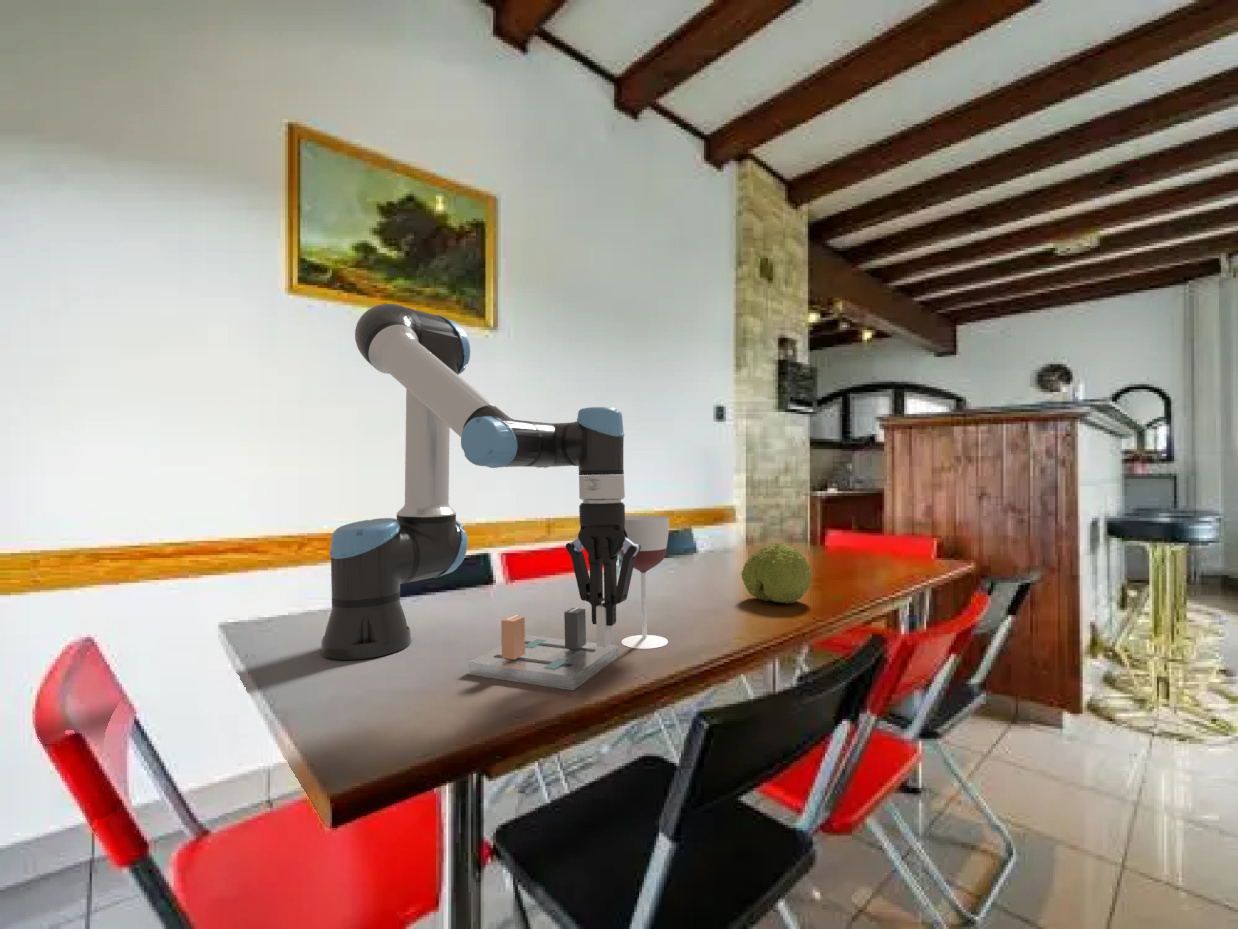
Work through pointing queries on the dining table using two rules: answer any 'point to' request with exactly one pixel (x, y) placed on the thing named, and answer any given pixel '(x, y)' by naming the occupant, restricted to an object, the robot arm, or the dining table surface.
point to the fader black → (575, 628)
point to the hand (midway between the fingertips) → (604, 644)
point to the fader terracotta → (513, 637)
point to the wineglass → (646, 566)
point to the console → (545, 663)
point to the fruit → (777, 574)
